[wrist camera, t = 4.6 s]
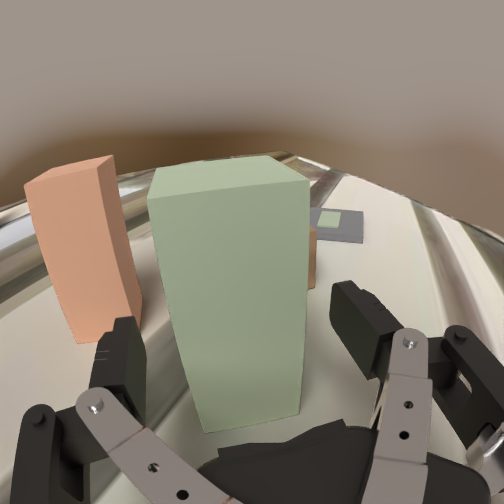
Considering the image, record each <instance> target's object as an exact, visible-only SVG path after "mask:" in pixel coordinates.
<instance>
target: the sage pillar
mask: <svg viewBox="0 0 504 504" xmlns="http://www.w3.org/2000/svg"><path fill="white" fill-rule="evenodd" d="M146 200H147V206H148V212H149V218H150V223H151V229H152V234H153V240H154V245H155V250H156V255H157V260H158V265H159V269H160V274H161V279H162V283H163V288H164V292H165V297H166V301H167V305H168V309H169V314H170V318H171V322H172V326H173V330H174V334H175V337H176V341H177V345H178V349H179V352H180V356H181V360H182V363H183V367H184V370H185V374H186V377H187V381H188V384H189V388H190V391H191V394H192V397H193V401H194V404H195V407H196V410H197V413H198V416H199V420H200V423H201V426H202V429H203V432H204V434H205V433H211V432H218V431H224V430H229V429H235V428H240V427H245V426H250V425H255V424H260V423H265V422H269V421H273V420H278V419H282V418H286V417H290V416H294V415H298V414H299V407H300V396H301V385H302V373H303V359H304V345H305V329H306V311H307V291H308V265H309V227H310V180H309V179H307V178H306V177H304V176H302V175H301V174H299V173H297V172H296V171H294V170H292V169H290V168H289V167H287V166H285V165H283V164H282V163H280V162H278V161H276V160H275V159H273V158H271V157H269V156H256V157H244V158H234V159H225V160H216V161H207V162H199V163H191V164H183V165H176V166H169V167H162V168H156V171H155V174H154V177H153V180H152V183H151V187H150V190H149V193H148V196H147V199H146Z"/></svg>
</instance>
